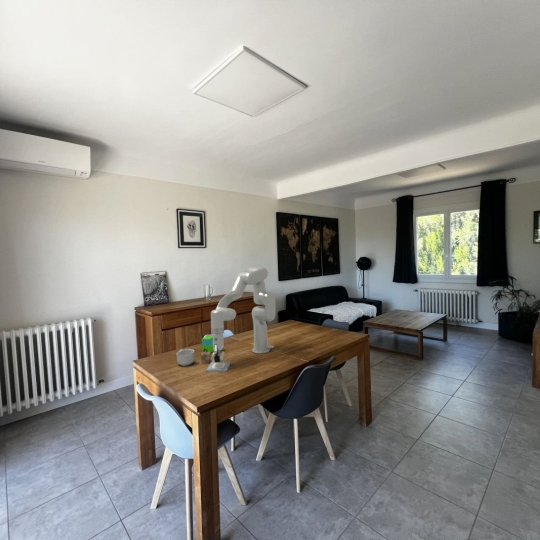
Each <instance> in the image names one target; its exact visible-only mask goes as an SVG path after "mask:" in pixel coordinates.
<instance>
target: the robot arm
mask: <svg viewBox="0 0 540 540" xmlns="http://www.w3.org/2000/svg"><path fill="white" fill-rule="evenodd" d="M268 276H269V272H268V269H267V268H266V267H262V266H261V267H260V266H252V267H251V266H250V267H247V268H246V269H245V271H240V272H238V273H237V274H236V276H235V278H234V280H233V283H232V284H231V285H232V286H231V288H230V289H229V291H228V292H227V293H226V294H224V296H222V298H221V299H220V300H219V302H218V304H217V306H216V308H215V309H213V310H211V312H210V327H211V328H210V330H211V331H210V332H211V333H210V334H211V335H212V336H213V350H214V362H220V355H219V351H223V349H224V348H223V347H225V344H224V342H225V341H224V333H225V328H224V327H225V325H224V324H225V322H231V321H234V320H235V318H236V316H237V312H236V310H235V309H233V308H232V307H231V308H230V307H228V306H229V305H230V304H231V303H232V302H234V301H237V300H238V299H240V298H242V296H243V294H244V293H245V292H244V291H245V289H246V287H247V285H249V286H253V287H252V288H253V292H252V293H253V302H254V303H255V304H256V305H257V306H254V307H253V308H252V310H251V317H252V324H253V348H251V351H252V353H254V354H266V353H269V351H270V349H274V348H275V346H274V345H273V344H269V343H268V325H267V322H273V321H274V320H275V318H276V297H275V294H274V293H273V292H271V291H266V283H265V280H266V279H267V278H268ZM260 305H261V306H260ZM217 351H218V352H217Z"/></svg>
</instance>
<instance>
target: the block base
mask: <svg viewBox="0 0 540 540" xmlns="http://www.w3.org/2000/svg"><path fill="white" fill-rule="evenodd" d="M217 352H218V351H217ZM219 355H220V362H214V352H212V353H211V362H212V363H222V362H225V351H224V350H222V351H219Z"/></svg>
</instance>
